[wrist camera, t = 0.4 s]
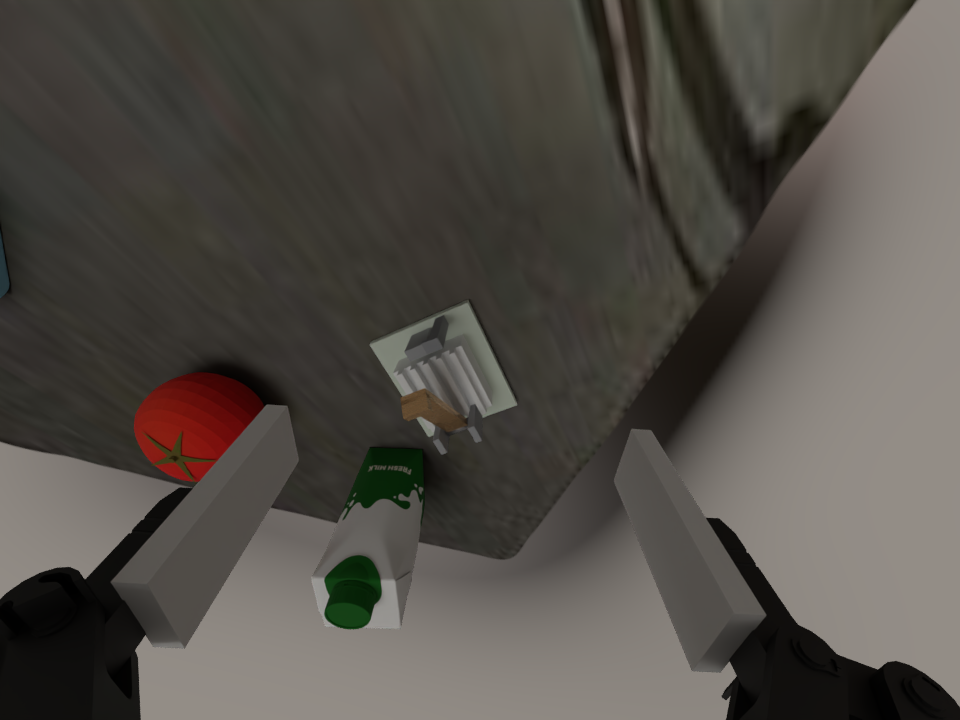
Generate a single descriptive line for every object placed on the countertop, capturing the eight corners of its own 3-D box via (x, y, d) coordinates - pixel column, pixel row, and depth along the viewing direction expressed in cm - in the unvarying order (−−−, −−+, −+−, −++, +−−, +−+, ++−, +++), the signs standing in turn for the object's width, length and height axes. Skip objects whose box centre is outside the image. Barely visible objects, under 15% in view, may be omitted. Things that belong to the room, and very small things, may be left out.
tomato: (252, 452, 50) (198, 518, 40) (165, 395, 46) (82, 453, 36) (301, 405, 46) (254, 465, 37) (211, 339, 42) (133, 387, 33)
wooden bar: (398, 396, 32) (401, 419, 31) (426, 385, 32) (430, 408, 31) (448, 426, 41) (452, 445, 40) (471, 418, 41) (475, 437, 40)
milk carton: (429, 443, 49) (396, 601, 31) (431, 493, 53) (403, 658, 35) (362, 441, 49) (290, 598, 31) (369, 491, 53) (310, 655, 35)
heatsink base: (371, 340, 42) (348, 376, 35) (468, 299, 40) (464, 327, 32) (429, 432, 48) (419, 477, 41) (516, 400, 45) (522, 443, 38)
